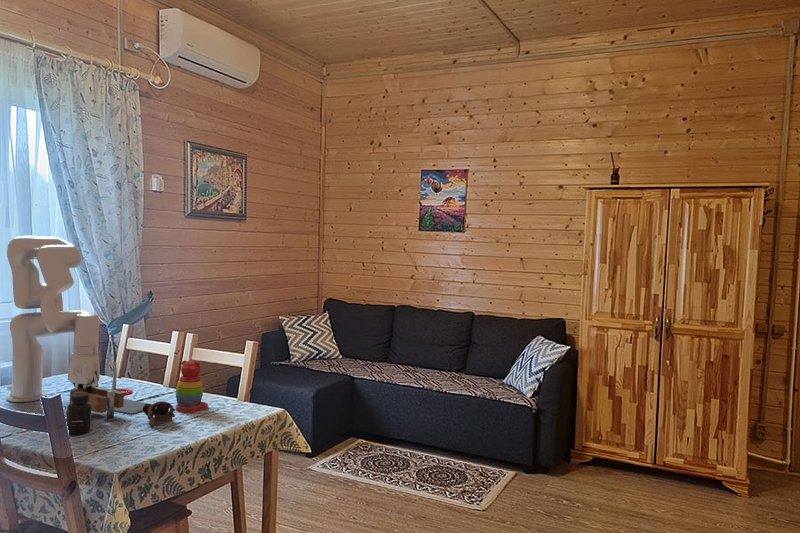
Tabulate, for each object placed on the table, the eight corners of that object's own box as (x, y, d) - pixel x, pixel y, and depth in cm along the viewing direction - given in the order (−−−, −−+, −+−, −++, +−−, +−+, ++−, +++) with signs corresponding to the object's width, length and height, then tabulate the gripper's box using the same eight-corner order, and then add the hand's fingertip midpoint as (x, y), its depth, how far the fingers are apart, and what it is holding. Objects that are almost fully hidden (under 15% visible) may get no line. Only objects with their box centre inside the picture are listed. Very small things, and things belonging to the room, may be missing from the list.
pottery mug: (181, 421, 202) (181, 404, 197) (163, 440, 194) (163, 423, 189) (150, 408, 204) (150, 391, 199) (132, 427, 196) (131, 410, 191)
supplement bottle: (73, 437, 179) (74, 398, 179) (61, 432, 183) (62, 394, 182) (95, 432, 185) (96, 394, 184) (83, 427, 189) (84, 390, 188)
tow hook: (117, 390, 236) (102, 395, 227) (119, 358, 236) (104, 361, 227) (136, 392, 234) (122, 397, 225) (138, 360, 235) (124, 363, 225)
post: (101, 420, 197) (102, 391, 196) (110, 417, 200) (111, 389, 200) (109, 422, 195) (110, 393, 195) (119, 419, 199) (119, 391, 198)
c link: (69, 405, 198) (70, 390, 198) (92, 399, 207) (92, 385, 207) (101, 413, 193) (102, 398, 193) (123, 406, 202) (124, 392, 201)
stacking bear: (209, 406, 218) (211, 359, 218) (196, 414, 208) (198, 364, 208) (182, 404, 220) (184, 356, 219) (168, 411, 210) (169, 362, 209)
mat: (95, 407, 210) (95, 406, 210) (122, 399, 221) (122, 398, 221) (131, 414, 204) (131, 413, 204) (157, 406, 215) (157, 405, 215)
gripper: (59, 348, 201) (56, 401, 202) (93, 355, 195) (90, 409, 196) (78, 344, 208) (76, 396, 209) (112, 351, 202) (109, 404, 203)
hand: (83, 402), depth 202 cm, fingers closed on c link
